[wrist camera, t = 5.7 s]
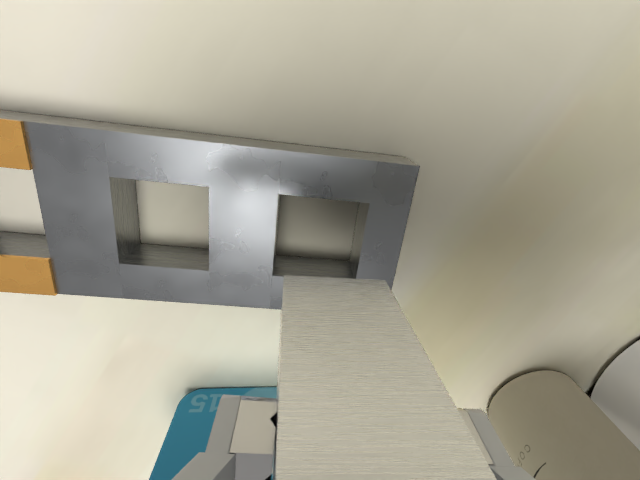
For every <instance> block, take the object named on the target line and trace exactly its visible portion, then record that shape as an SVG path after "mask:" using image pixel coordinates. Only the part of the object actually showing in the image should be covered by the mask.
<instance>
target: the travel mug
mask: <svg viewBox="0 0 640 480" xmlns="http://www.w3.org/2000/svg"><path fill="white" fill-rule="evenodd" d="M488 417H489V421H490V422H491V424H492V426H493V428H494V430H495V431H496V433H497V435H498V437H499V438H500V440H501V442H502V444H503V446H504V447H505V449H506V451H507V452H508V454H509V456H510V458H511V459H512V461H513V463H514V465H515V466H517V467H522V468H523V469H524V470H525V471H526V472H527V473H529V474H530V475H531V476H532V477H533V478H535V479H536V480H640V451H639V449H638V448H637V447H636V446H635V445H634V444H633V443H632V442H631V441H630V440H629V439H628V438H627V437H626V436H625V435H624V434H623V433H622V432H621V430H620V429H619V428H618V427H617V426H616V425H615V424H614V423H613V422H612V421H611V420H610V419H609V418H608V417H607V416H606V415H605V414H604V412H603V411H602V410H601V409H600V408H599V407H598V406H597V405H596V404H595V403H594V402H593V401H592V400H591V399H590V398H589V397H588V396H587V395H586V393H585V392H584V391H583V390H582V389H581V388H580V387H579V386H578V385H577V384H576V383H575V382H574V381H573V380H572V379H571V378H570V377H569V376H567V375H565V374H563V373H561V372H557V371H549V370H544V371H535V372H531V373H527V374H524V375H522V376H519V377H517V378H515V379H513V380H512V381H510V382H508V383H507V384H506V385H504V386H503V387H502V388H501V389H500V390H499V391H498V392H497V393H496V394H495V396H494V397H493V399H492V401H491V403H490V406H489V410H488Z"/></svg>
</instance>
